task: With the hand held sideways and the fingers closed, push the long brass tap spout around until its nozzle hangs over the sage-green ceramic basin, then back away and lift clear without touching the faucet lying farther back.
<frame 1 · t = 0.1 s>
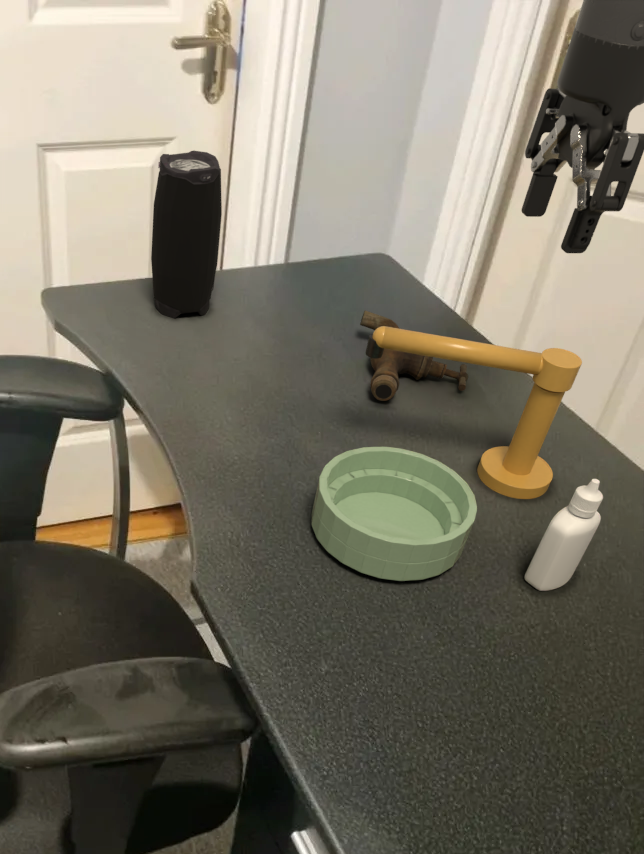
hand: (551, 232, 80), 26 cm above the table, tool pointing down, fingers open, 8 cm apart
eye dropper bottle: (547, 578, 85), on the table
faucet: (407, 378, 112), on the table
basin: (385, 534, 88), on the table
tap base: (512, 477, 97), on the table
spout: (470, 357, 88), point 13 cm above the table, hinge at 0.0°
portable speaker: (181, 308, 121), on the table
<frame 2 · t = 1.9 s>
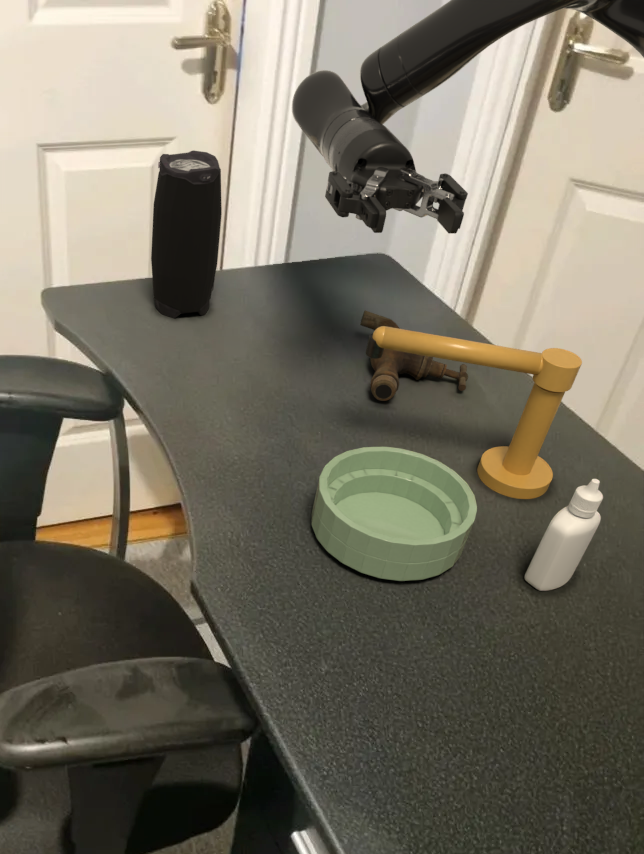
hand: (419, 223, 85), 24 cm above the table, tool horizontal, fingers open, 7 cm apart
nothing on the table moved.
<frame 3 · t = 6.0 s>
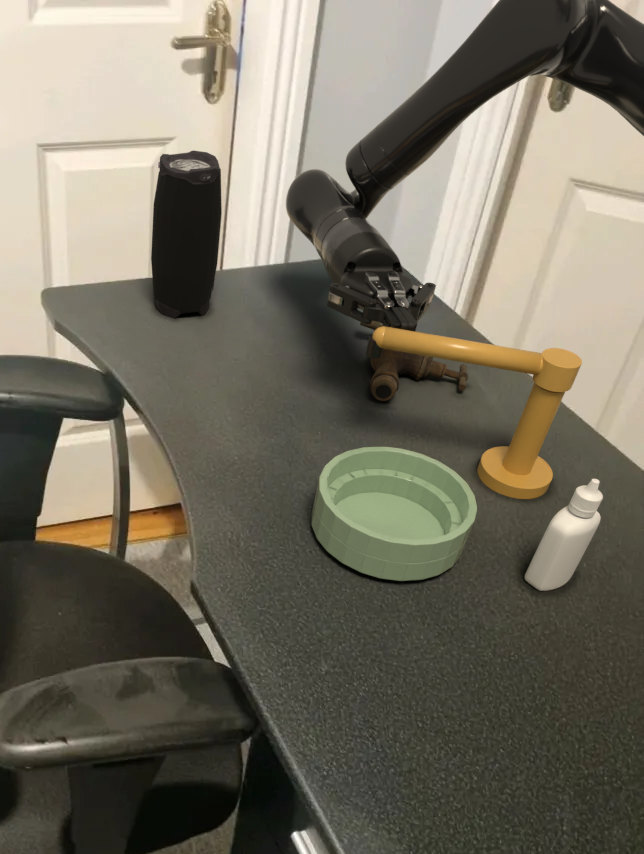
hand: (406, 333, 90), 14 cm above the table, tool horizontal, fingers closed
spout: (470, 357, 88), point 13 cm above the table, hinge at 0.1°, touching gripper
everything else where it was.
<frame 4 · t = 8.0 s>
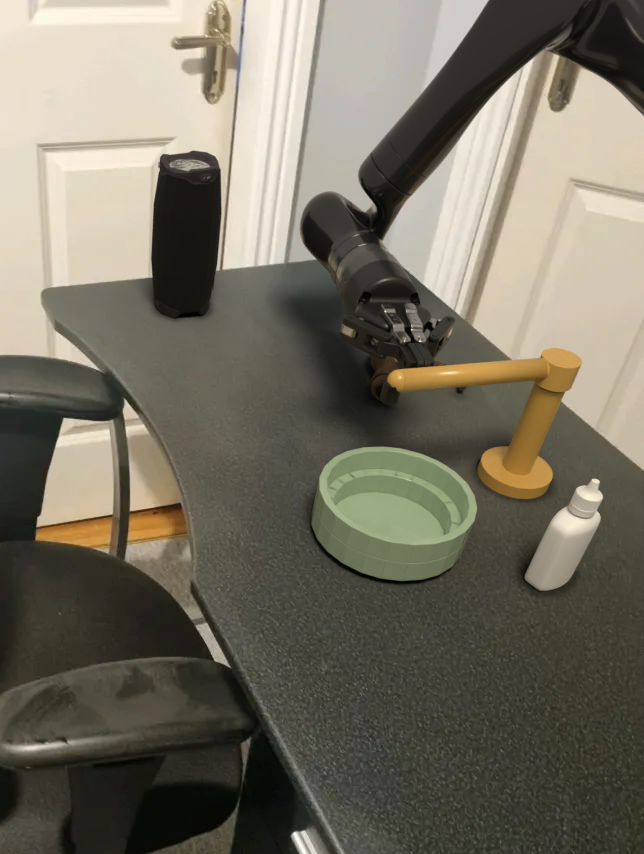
hand: (422, 371, 85), 14 cm above the table, tool horizontal, fingers closed
spout: (481, 378, 86), point 13 cm above the table, hinge at 28.0°, touching gripper
everything else where it was.
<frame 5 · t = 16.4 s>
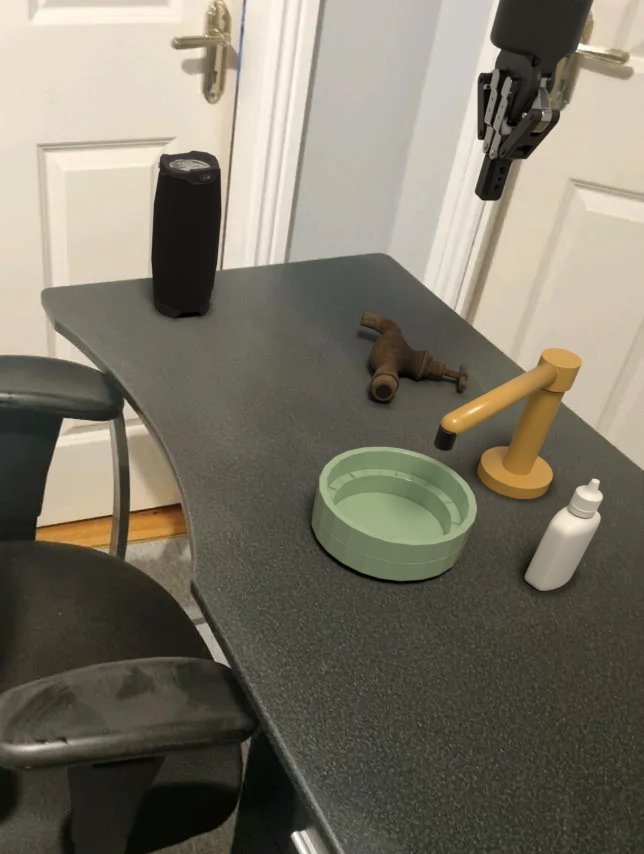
hand: (486, 197, 84), 27 cm above the table, tool pointing down, fingers closed
spout: (508, 398, 83), point 13 cm above the table, hinge at 54.1°
everything else where it was.
at the end: spout at +54° (first picture: +0°); spout touching nothing; faucet moved 0.2 cm from its start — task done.
